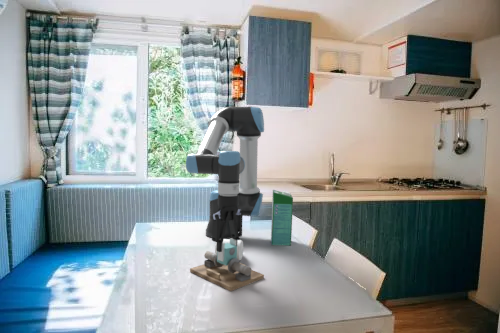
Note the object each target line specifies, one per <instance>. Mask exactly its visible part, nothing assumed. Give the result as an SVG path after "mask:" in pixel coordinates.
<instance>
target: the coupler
mask: <svg viewBox="0 0 500 333" xmlns="http://www.w3.org/2000/svg"><path fill="white" fill-rule="evenodd" d="M233 258H236V259H237V246H236V245H233V244H230V243H225V248H224V261H220V260H218V251H217V262H219V263H221V264H224V265H226V266H227V265H228V263H229V261H230V260H231V259H233Z"/></svg>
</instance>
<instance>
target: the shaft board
mask: <svg viewBox="0 0 500 333" xmlns="http://www.w3.org/2000/svg"><path fill="white" fill-rule="evenodd" d="M203 256H204V258H205V260H204V264H201V265H197V266H194V267H191V268H190V269H189V272H190V273H192V274H194V275H196V276H199V277H200V278H202V279H204V280H206V281H209V282H210V283H212V284H215V285H217V286H219V287H221V288H223V289H225V290H227V291H229V292H233V291H235V290H237V289H240V288H243V287H246V286H248V285H250V284H253V283H254V282H255V283H256V282H257V281H260V280H263V279H264V278H265V274H263V273H260V272H259V271H256V270H254V269H252V268H251V267H250V266H247V264H243V263H241V262H240V260H238V259H236V258H233V259H231V260H230V261H229V263H228V265H227V266H226V265H224V264H221V263H219V262H217V254H215V252H211V251H206V252H204V255H203Z"/></svg>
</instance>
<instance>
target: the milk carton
mask: <svg viewBox="0 0 500 333" xmlns="http://www.w3.org/2000/svg"><path fill="white" fill-rule="evenodd" d="M293 200H294V198H293V196H292V194H291V192H289V191H286V190H282V191H279V190H275V189H272V200H271V201H272V203H271V204H272V206H271V228H270V229H271V230H270V231H271V232H270V233H271V234H270V241H271V242H270V243H271V246H288V247H289V246H292V234H293V233H292V230H293V227H292V226H293V204H294V201H293Z"/></svg>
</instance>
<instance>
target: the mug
mask: <svg viewBox="0 0 500 333" xmlns="http://www.w3.org/2000/svg"><path fill="white" fill-rule="evenodd" d="M243 241H244V240H241V239H239V240H237V259H238V260H239V261H241V260H242V259H243V254H244V242H243ZM223 243H230V238H224V239H223ZM214 254H217V242H216V243H215V247H214Z"/></svg>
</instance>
